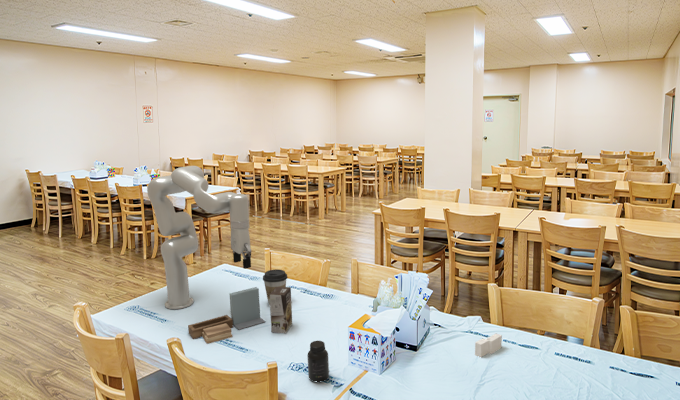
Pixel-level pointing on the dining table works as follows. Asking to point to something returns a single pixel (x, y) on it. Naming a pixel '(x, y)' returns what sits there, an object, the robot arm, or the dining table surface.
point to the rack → (208, 325)
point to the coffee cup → (274, 281)
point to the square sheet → (245, 305)
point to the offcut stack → (216, 333)
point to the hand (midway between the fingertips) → (242, 264)
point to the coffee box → (281, 309)
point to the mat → (249, 323)
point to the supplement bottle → (318, 361)
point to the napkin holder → (488, 345)
